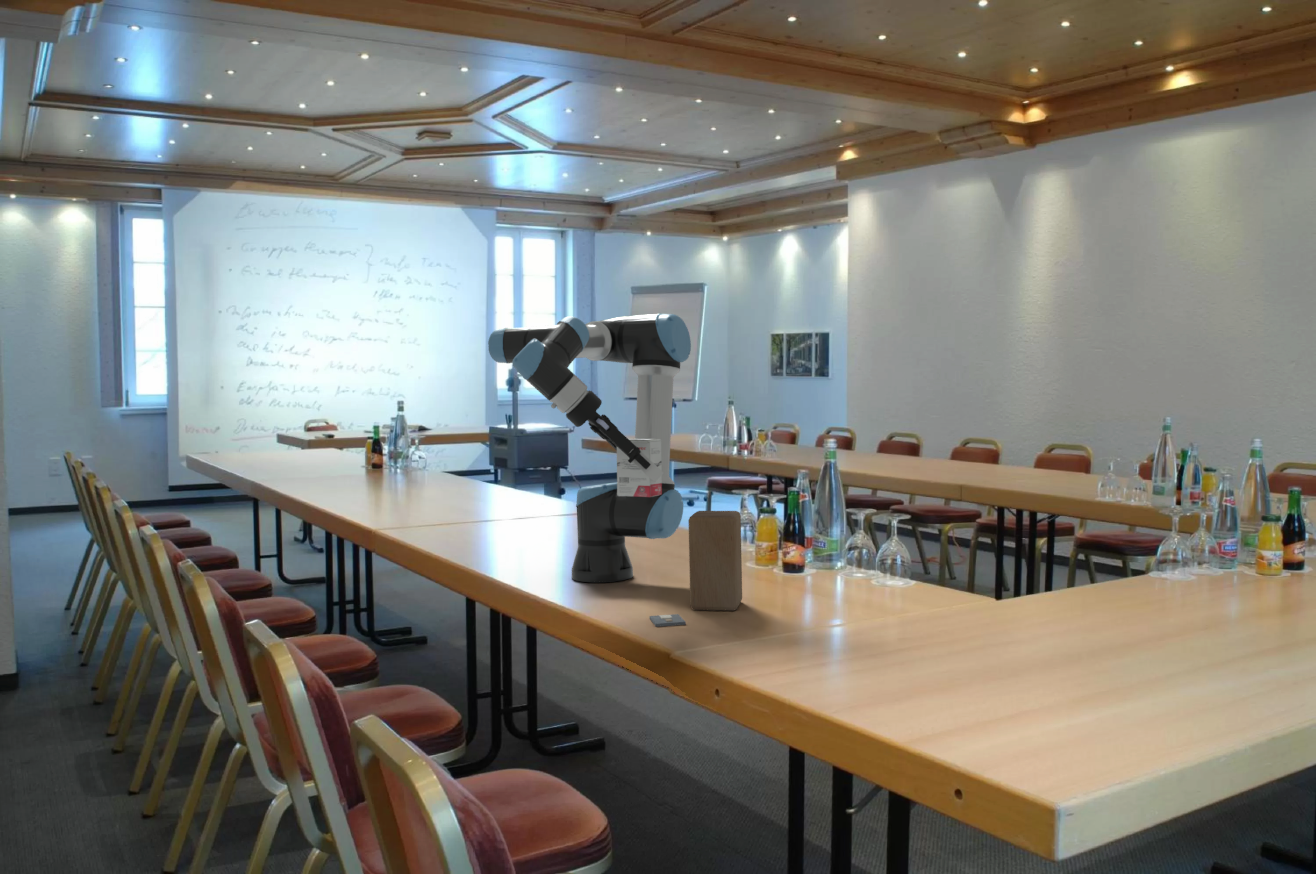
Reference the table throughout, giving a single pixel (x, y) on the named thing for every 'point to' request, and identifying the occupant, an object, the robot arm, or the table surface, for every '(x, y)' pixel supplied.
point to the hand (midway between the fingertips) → (654, 475)
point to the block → (715, 560)
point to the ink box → (639, 471)
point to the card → (667, 620)
